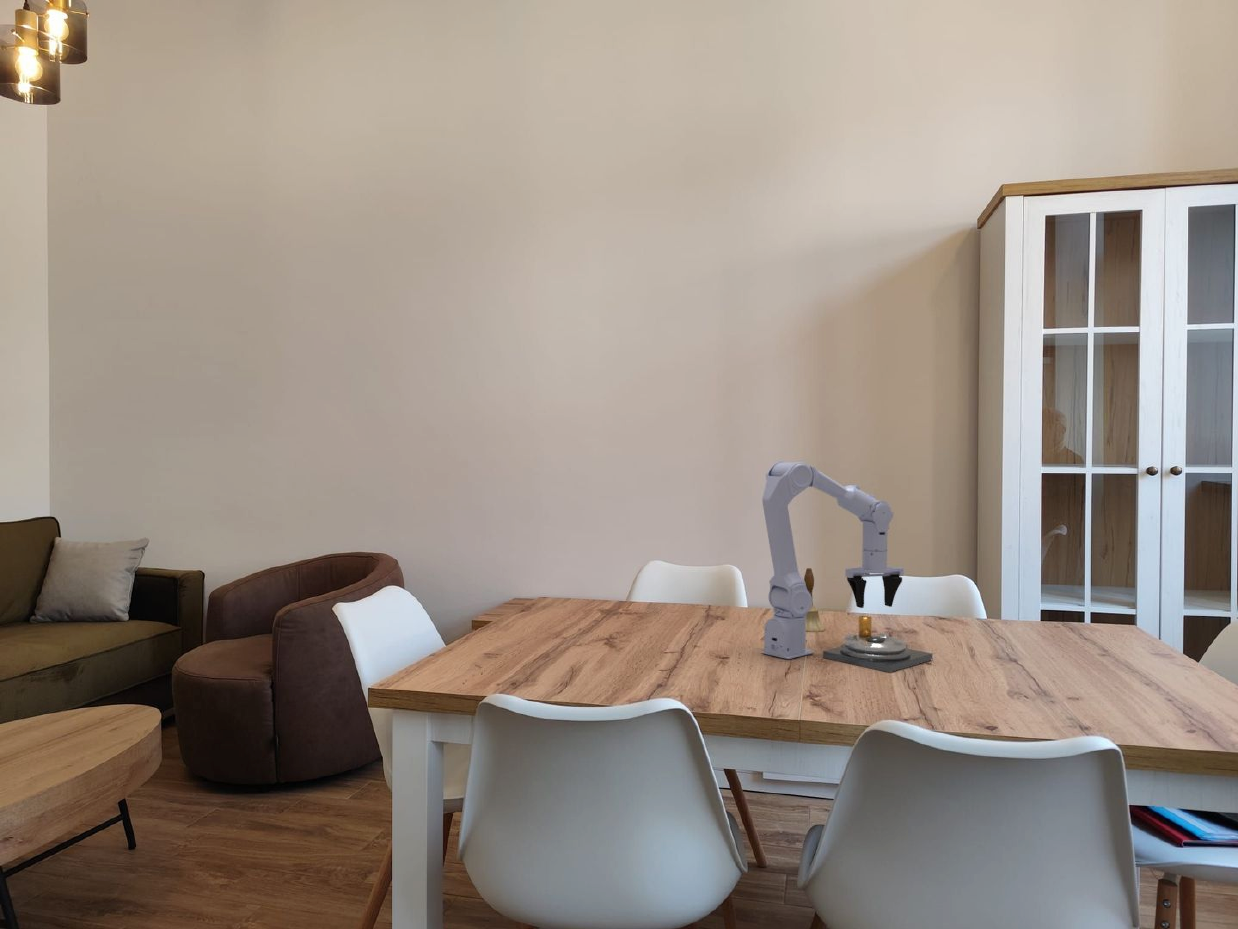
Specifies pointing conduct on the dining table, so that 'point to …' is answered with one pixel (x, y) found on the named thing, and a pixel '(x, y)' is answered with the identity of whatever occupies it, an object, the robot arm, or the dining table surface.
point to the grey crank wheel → (873, 640)
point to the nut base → (878, 658)
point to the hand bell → (812, 616)
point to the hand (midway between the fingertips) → (874, 606)
